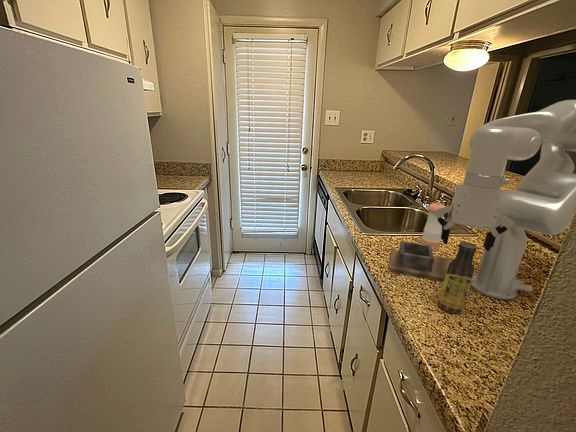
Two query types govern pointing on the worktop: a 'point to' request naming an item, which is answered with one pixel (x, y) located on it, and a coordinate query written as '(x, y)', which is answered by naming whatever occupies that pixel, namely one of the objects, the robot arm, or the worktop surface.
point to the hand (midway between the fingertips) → (465, 245)
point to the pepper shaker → (432, 227)
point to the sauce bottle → (458, 279)
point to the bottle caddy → (418, 262)
